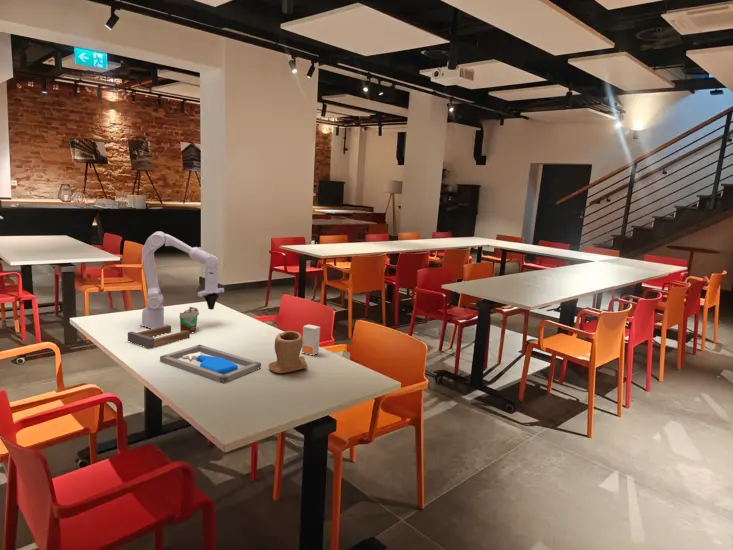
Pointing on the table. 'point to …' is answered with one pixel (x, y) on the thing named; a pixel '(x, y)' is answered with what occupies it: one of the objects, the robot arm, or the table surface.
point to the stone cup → (288, 353)
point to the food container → (189, 320)
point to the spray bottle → (213, 363)
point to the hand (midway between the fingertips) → (211, 309)
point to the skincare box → (311, 339)
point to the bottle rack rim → (173, 361)
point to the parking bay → (165, 339)
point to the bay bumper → (141, 339)
